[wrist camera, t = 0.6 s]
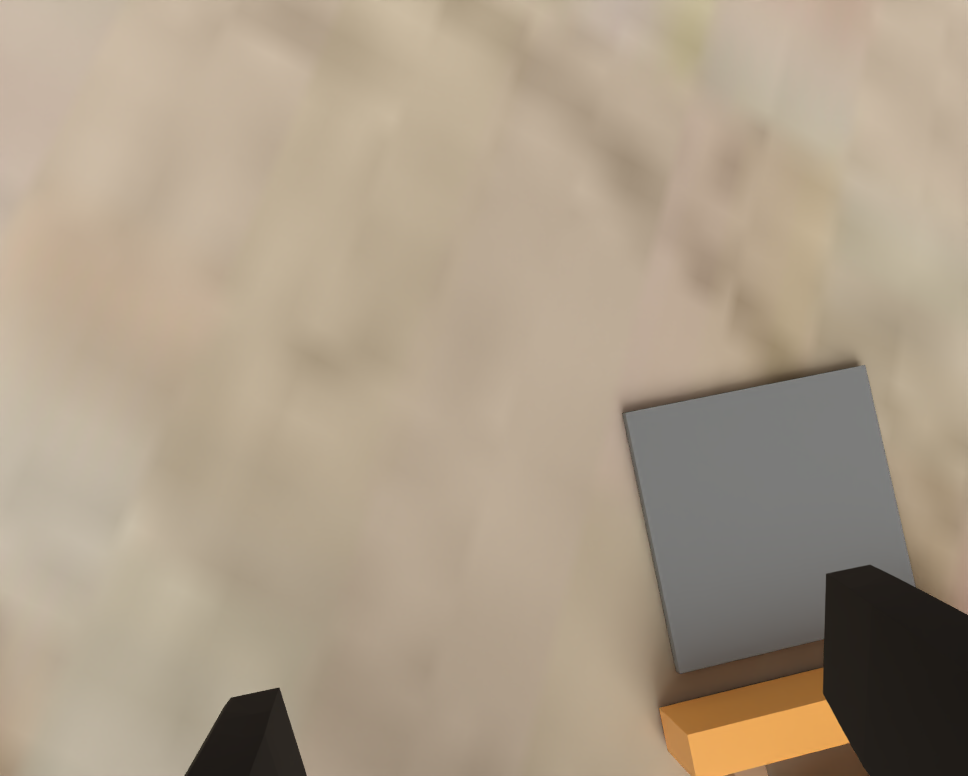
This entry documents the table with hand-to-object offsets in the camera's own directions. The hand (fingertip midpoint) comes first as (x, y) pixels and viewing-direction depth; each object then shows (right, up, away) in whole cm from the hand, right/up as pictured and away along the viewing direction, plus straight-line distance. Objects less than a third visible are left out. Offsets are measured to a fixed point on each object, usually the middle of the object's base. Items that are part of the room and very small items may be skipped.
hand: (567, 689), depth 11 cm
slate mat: (+10, -1, +21) cm, 24 cm away
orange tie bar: (+12, -8, +21) cm, 25 cm away
